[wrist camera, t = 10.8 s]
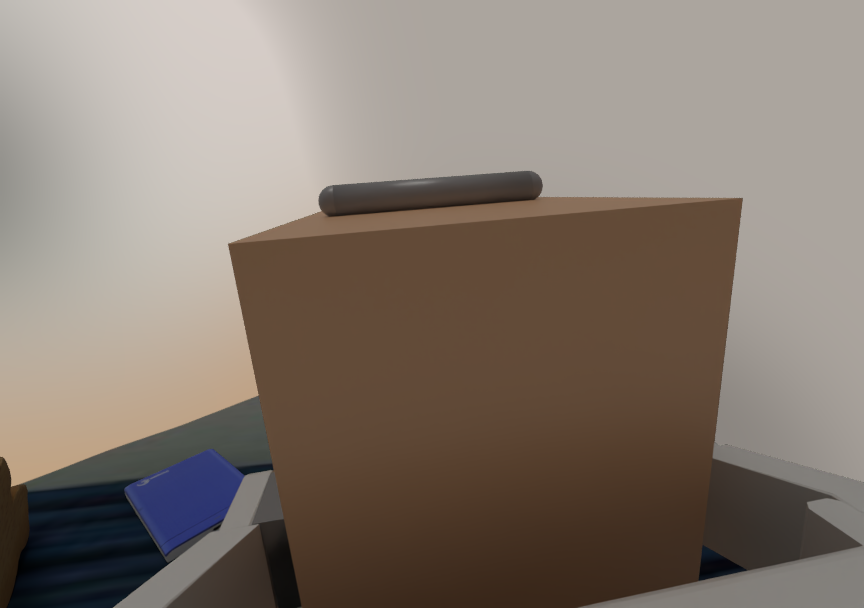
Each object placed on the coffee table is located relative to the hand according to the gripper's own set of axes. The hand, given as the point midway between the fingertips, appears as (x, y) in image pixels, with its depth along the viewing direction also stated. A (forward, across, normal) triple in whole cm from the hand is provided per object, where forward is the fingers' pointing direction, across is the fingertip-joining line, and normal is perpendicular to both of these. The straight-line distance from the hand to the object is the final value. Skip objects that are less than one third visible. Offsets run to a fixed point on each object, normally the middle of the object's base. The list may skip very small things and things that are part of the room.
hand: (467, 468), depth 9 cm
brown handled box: (+2, 0, +6) cm, 7 cm away
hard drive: (+29, +20, +20) cm, 40 cm away
